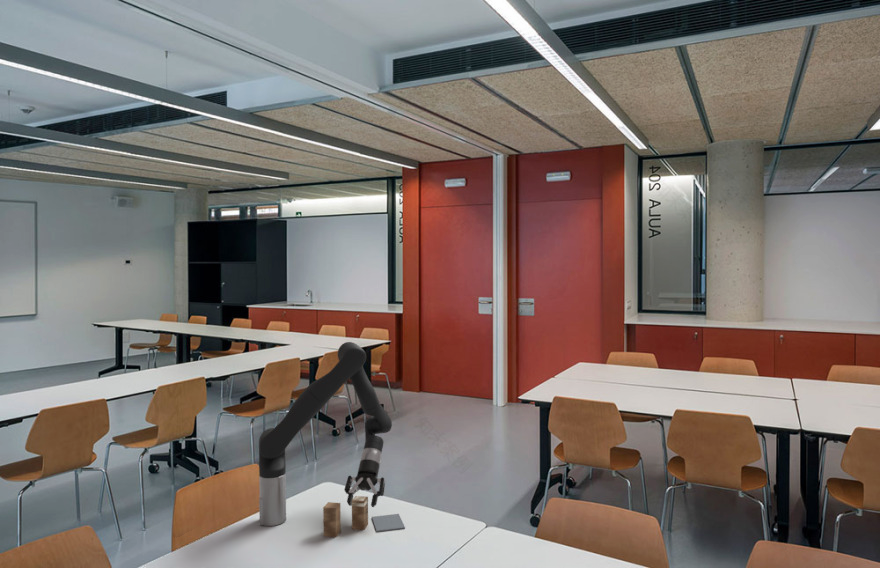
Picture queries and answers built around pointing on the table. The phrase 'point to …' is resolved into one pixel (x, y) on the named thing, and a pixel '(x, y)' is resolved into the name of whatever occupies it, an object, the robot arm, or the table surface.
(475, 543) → the table surface
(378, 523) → the slate mat
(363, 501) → the label box
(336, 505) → the plain box
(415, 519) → the table surface
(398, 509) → the table surface
